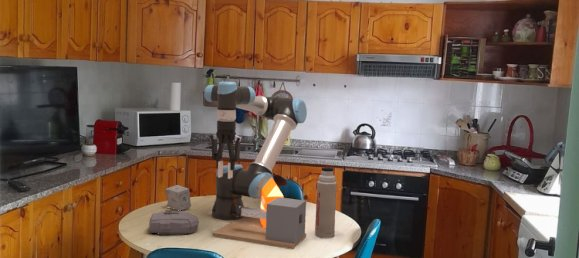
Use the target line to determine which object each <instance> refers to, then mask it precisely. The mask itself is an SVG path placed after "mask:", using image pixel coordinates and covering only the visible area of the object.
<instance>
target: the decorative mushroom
mask: <svg viewBox="0 0 579 258" xmlns="http://www.w3.org/2000/svg"><path fill="white" fill-rule="evenodd" d="M273 178H274V182H275V183H276V185H277V186H278V188H279V189H280V187H284V186H287V185H288V182H287V179H285V178H284V177H283V176H281V175H279V174H273Z"/></svg>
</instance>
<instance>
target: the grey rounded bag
mask: <svg viewBox="0 0 579 258" xmlns="http://www.w3.org/2000/svg"><path fill="white" fill-rule="evenodd" d="M199 225H200V221H199V218H198V217H197V215H195V214H194V213H192V212H188V211H184V210H182V211H177V210H174V209H169V210H163V211H159V212H155V213H152V214H151V216H150V219H149V223H148V229H149V232H150V234H152V233H159V234H158V235H160V234H181V235H187V233H188V234H191V233H195V232H197V231H198V227H199Z"/></svg>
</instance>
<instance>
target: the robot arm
mask: <svg viewBox="0 0 579 258" xmlns="http://www.w3.org/2000/svg"><path fill="white" fill-rule="evenodd" d="M203 94H204V98H205V101H207V102H209V103H217V111H216V113H217V114H216V116H217V117H216V118H217V121H216V133H215V134H211V135H210V136H209V137H210V140H211V159H212V160H214V161H215V162H216V165H215V167H216V175H215V177H216V179H215V201H214V203H213V205H212V209H211V217H213V218H214V219H219V220H227V221H228V220H239V219H242V218H244V217H245V216H243V217H236V215H235V209H236V206H237V205H238V204H239V205H244V202H243V198H242V197H247V198H251V199H259V200H261V196H262V189H263V188H264V186H265V185H266V184H267V182H268V181H269V180H270V179H271V177H272V179H273V180H274V178H273V176H274V173H273V171H272V170H273V168H274V166H275V165H276V162H277V160H278V158H279V156H280V154H281V153H282V150H283V148H284V146H285V144H286V142H287V139H288V138H289V135H290V133H291V132H292V131H294V130H295V129H296V128H297V126H298V124H300V125H301V124H304V123H305V121H306V120H307V114H308V113H307V112H308V111H307V104H306V102H305V101H304V100H303V99H302V98H296V97H293V98H292V97H283V96H282V97H280V96H263V95H257V94H256V91H255V89H254V88H253V87H251V86H246V85H243V86H241V85H240V86H238V85H237V83H236V82H235V81H219V82H218V83H217V84H209V85H207V86H206V87H205V88H204V92H203ZM256 95H257V96H256ZM237 109H241V110H244V111H249V112H252V113H253V114H254V115H255V116H258V117H261V118H263V119H264V118H265V119H267V120H271V121H274V123H273V125H272V127H271V129H270V131H269V133H268V135H267V137H266V139H265V140H264V143H263V144H262V147H261V148H260V151H259V153H258V154H257V157H256V158H255V160H254V161H253V162H250V163H249V165H248V167H247V168H246V169H244V167H243V165H242V164H235V163H236V162H239V161H240V158H241V157H240V154H241V142H242V140H243V137H242V136H239V135H237V133H236V128H237V121H236V119H237ZM234 141H235V143H234ZM225 144H226V147H227V150H228V158H229V162H228V163H227V164H226V165H224V160H223V158H222V157H223V153H224V146H225Z"/></svg>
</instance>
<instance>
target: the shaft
mask: <svg viewBox="0 0 579 258" xmlns="http://www.w3.org/2000/svg"><path fill="white" fill-rule="evenodd" d="M235 215H236V217H243V216H244V217H247V218H252V219H253V218H255V219H259V220H260V219H266V210H265V209H261V208H256V207H248V206H245V205H244V204H243V205H239V204H238V205H237V206H236V209H235ZM244 217H243V218H244Z"/></svg>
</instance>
